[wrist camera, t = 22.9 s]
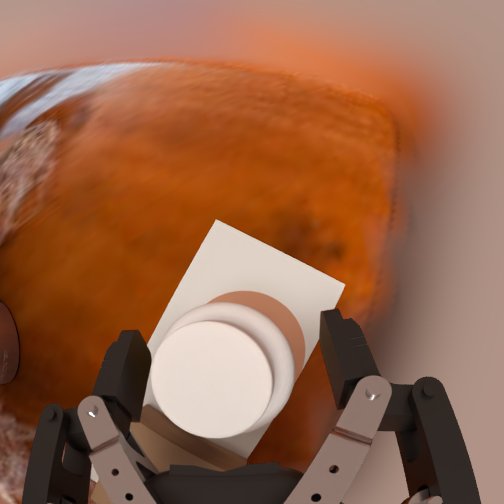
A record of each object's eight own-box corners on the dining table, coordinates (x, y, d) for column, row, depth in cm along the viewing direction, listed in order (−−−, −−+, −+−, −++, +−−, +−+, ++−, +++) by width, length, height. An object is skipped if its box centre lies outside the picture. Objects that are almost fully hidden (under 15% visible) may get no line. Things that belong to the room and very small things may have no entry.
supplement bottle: (188, 335, 19) (103, 337, 9) (262, 296, 19) (244, 261, 9) (228, 407, 17) (179, 478, 7) (303, 370, 17) (331, 415, 8)
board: (94, 469, 17) (72, 485, 14) (219, 226, 22) (210, 206, 18) (190, 526, 16) (179, 551, 12) (340, 287, 20) (355, 279, 17)
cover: (106, 483, 16) (83, 503, 12) (147, 403, 17) (122, 419, 14) (190, 531, 14) (179, 559, 11) (247, 459, 16) (243, 487, 12)
